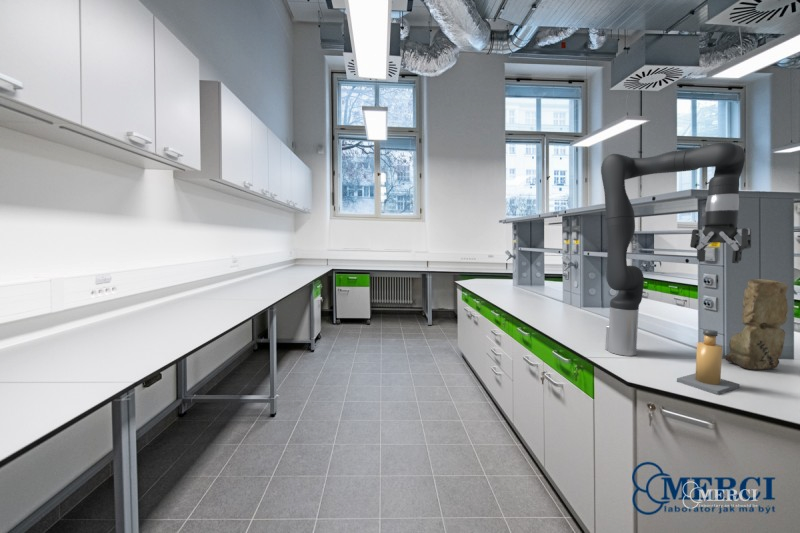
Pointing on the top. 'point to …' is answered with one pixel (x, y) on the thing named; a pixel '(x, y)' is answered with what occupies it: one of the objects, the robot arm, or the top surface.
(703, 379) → the bottle
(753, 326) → the sculpture
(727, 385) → the mat
